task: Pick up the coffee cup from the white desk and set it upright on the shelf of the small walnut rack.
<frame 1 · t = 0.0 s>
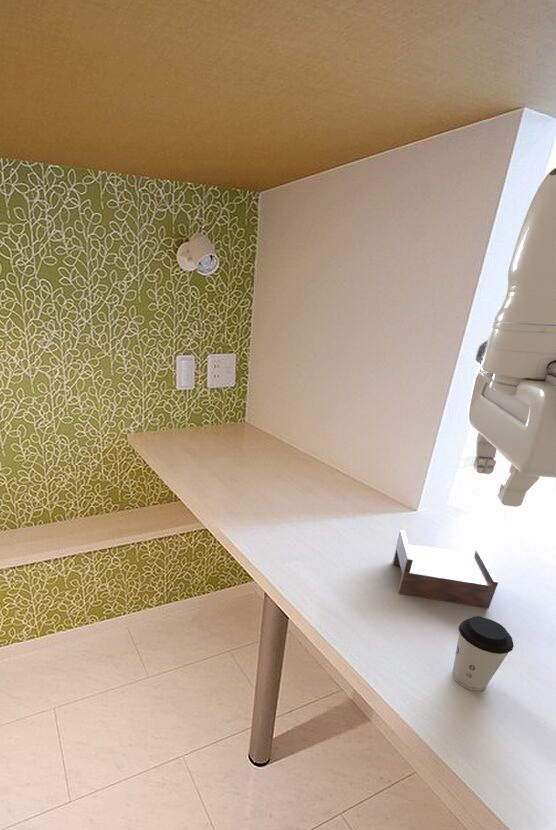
hand: (493, 486, 48), 34 cm above the table, tool pointing down, fingers open, 8 cm apart
rack: (436, 583, 89), on the table
coffee cup: (468, 679, 67), on the table
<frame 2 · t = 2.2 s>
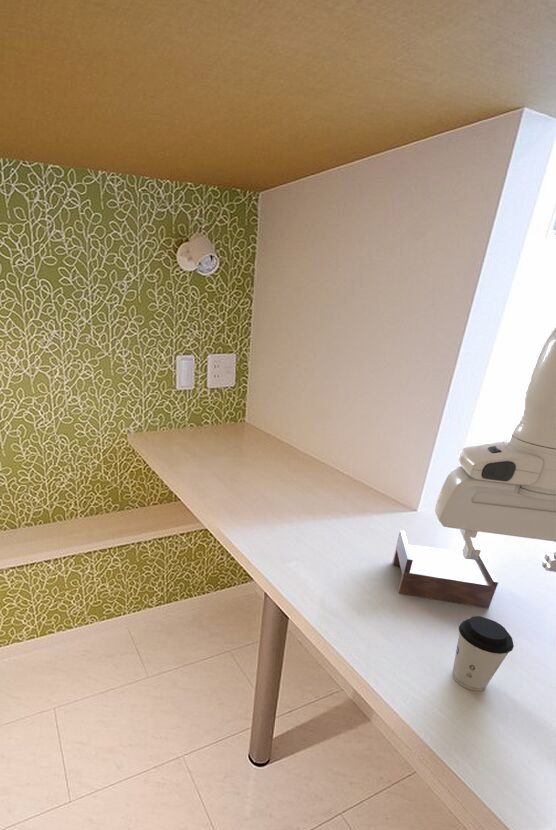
hand: (509, 563, 57), 21 cm above the table, tool pointing down, fingers open, 8 cm apart
nothing on the table moved.
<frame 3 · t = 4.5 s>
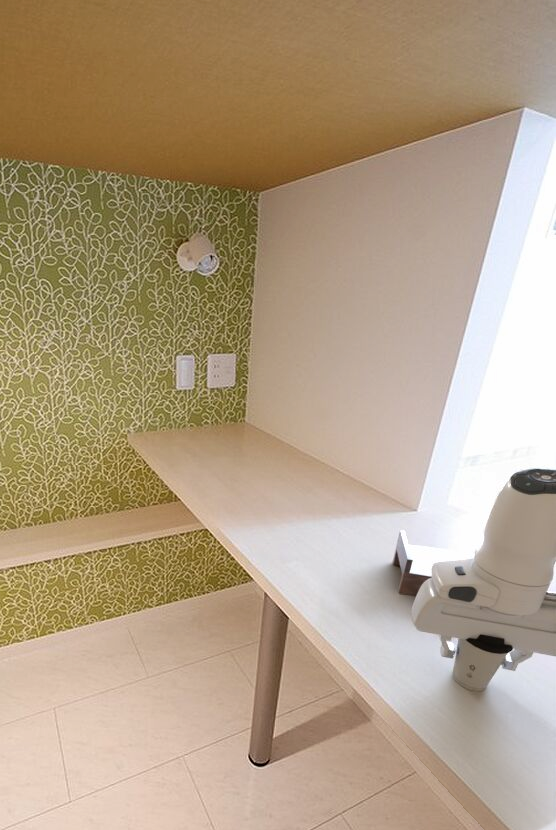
hand: (475, 660, 65), 4 cm above the table, tool pointing down, fingers closed on coffee cup, 7 cm apart
coffee cup: (468, 679, 67), on the table, touching gripper
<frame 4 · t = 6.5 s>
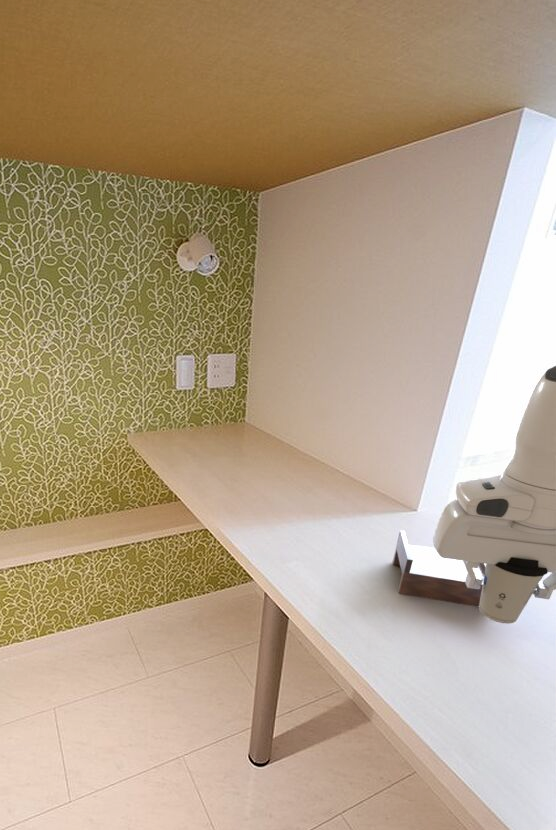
hand: (504, 591, 60), 17 cm above the table, tool pointing down, fingers closed on coffee cup, 7 cm apart
coffee cup: (497, 613, 61), point 13 cm above the table, touching gripper
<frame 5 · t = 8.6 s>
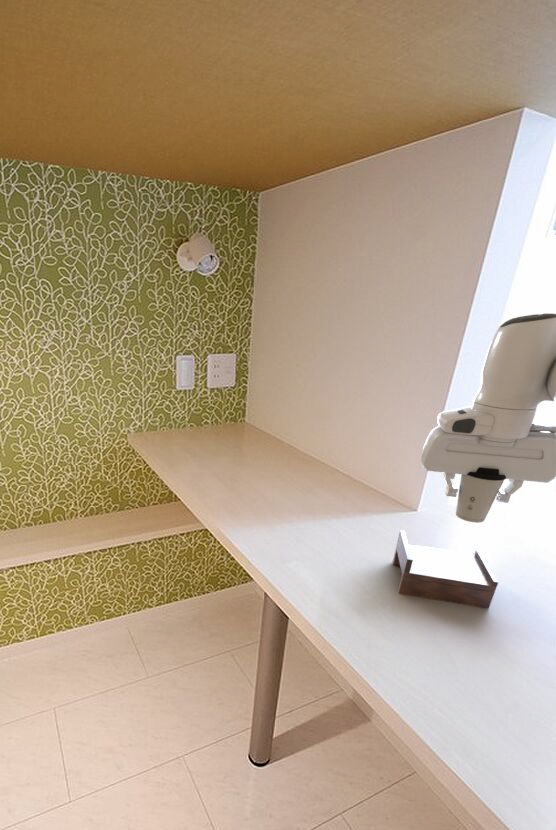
hand: (475, 498, 77), 21 cm above the table, tool pointing down, fingers closed on coffee cup, 7 cm apart
coffee cup: (469, 517, 79), point 17 cm above the table, touching gripper
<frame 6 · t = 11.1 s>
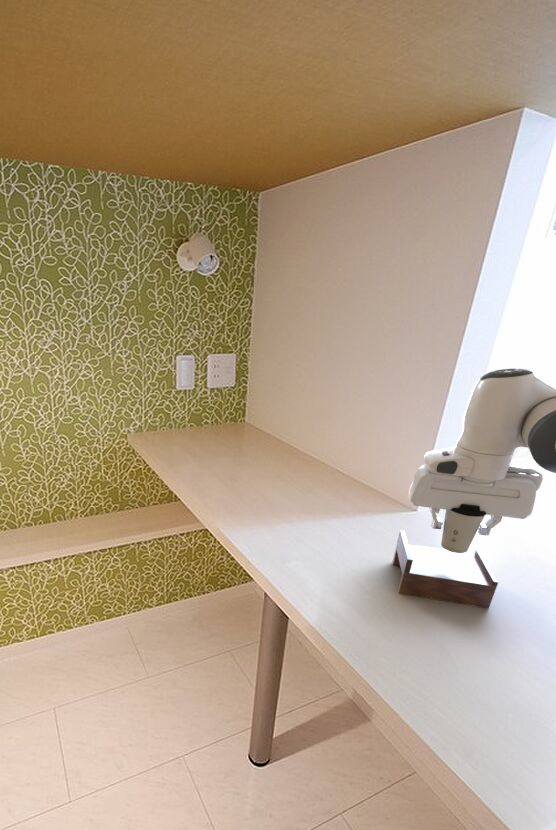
hand: (458, 530, 84), 13 cm above the table, tool pointing down, fingers closed on coffee cup, 7 cm apart
coffee cup: (453, 548, 85), point 9 cm above the table, touching gripper
when the fingers open (8 cm above the table, at t = 12.9 s): coffee cup stays where it is, resting on rack.
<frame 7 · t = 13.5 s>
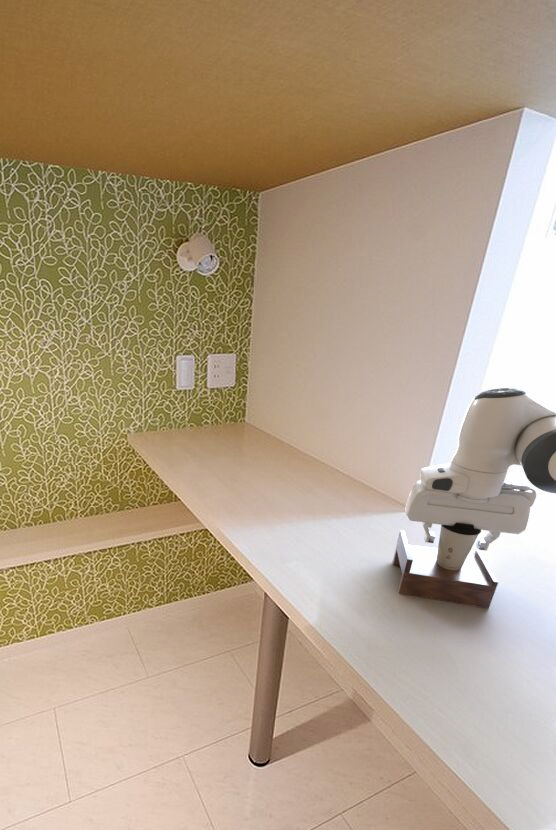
hand: (454, 545, 85), 9 cm above the table, tool pointing down, fingers open, 8 cm apart
coffee cup: (448, 564, 87), point 5 cm above the table, touching rack
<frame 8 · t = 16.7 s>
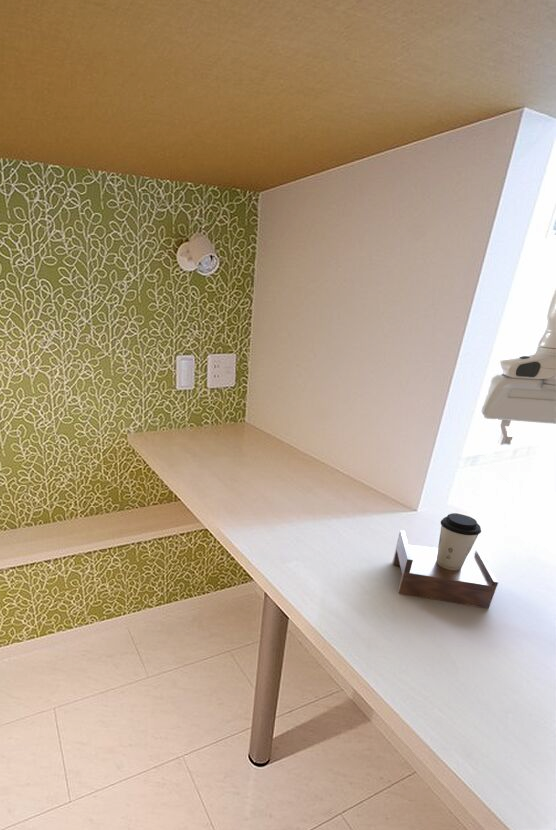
hand: (533, 446, 78), 29 cm above the table, tool pointing down, fingers open, 8 cm apart
nothing on the table moved.
at the end: coffee cup inside the target area on the rack (1.1 cm from its centre), point 4.8 cm above the rack's base; coffee cup tilted 0°; the gripper is holding nothing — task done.
